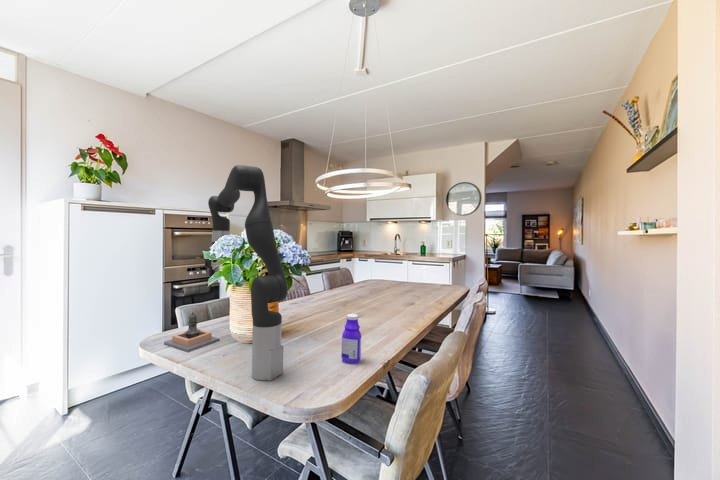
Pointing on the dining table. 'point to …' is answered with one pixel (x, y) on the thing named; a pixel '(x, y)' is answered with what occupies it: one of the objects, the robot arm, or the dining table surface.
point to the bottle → (351, 340)
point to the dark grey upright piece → (192, 327)
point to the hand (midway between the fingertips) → (220, 276)
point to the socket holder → (191, 341)
